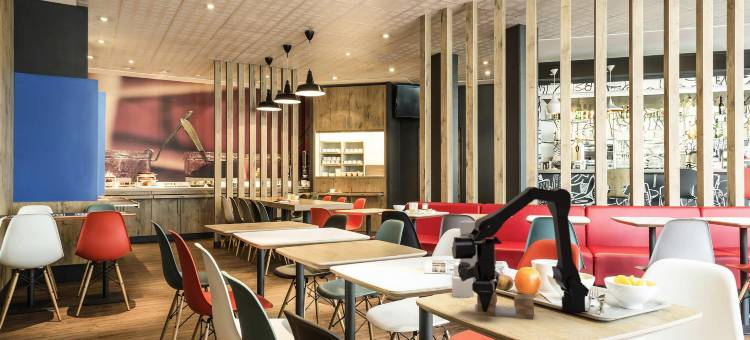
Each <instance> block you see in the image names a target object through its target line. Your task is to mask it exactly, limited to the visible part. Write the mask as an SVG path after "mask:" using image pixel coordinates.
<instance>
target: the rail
mask: <svg viewBox="0 0 750 340" xmlns="http://www.w3.org/2000/svg"><path fill="white" fill-rule="evenodd" d="M534 315H535V314H534ZM534 315H533V318H534ZM472 316H477V317H478V316H480V317H482V316H481V315H477V303H476V304H475V306H474V312H473V313H472ZM490 317H491V318H492V317H494V318H504V319H505V318H506V319H507V318H508V319H519V318H516V307H514V306H509V305H508V306H507V305H505V306H504V305H497V304H496V305H495V306H494V316H490ZM519 320H520V319H519ZM529 320H531V321H532V319H529Z"/></svg>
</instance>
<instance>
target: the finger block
mask: <svg viewBox="0 0 750 340" xmlns="http://www.w3.org/2000/svg"><path fill="white" fill-rule="evenodd" d="M476 301H477V302H476V304H477V315H476V316H478V315H481V316H480V317H491V316H494V306H495V305H496V306H497V302H498V294H497V293H496V291H495V292H494V293H493V296H492V298H491V301H490V304H489V307H488V310H487V312H483V309H482V305H481V302H480V298H479V295H478V294H476Z"/></svg>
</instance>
